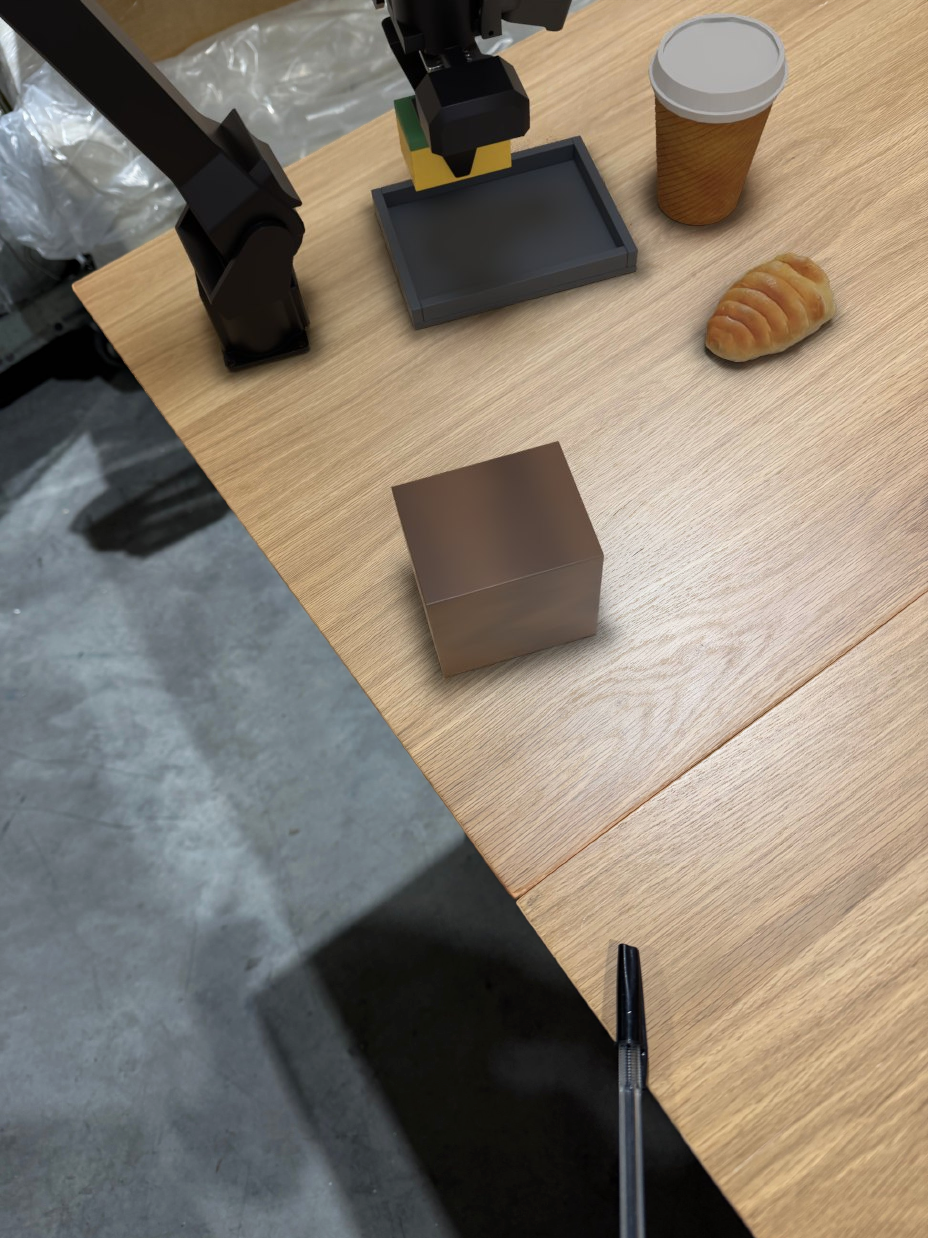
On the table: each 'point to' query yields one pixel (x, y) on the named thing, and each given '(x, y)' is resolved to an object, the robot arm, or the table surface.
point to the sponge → (433, 167)
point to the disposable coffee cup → (712, 110)
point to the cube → (502, 557)
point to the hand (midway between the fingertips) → (453, 153)
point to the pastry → (771, 309)
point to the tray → (504, 234)
